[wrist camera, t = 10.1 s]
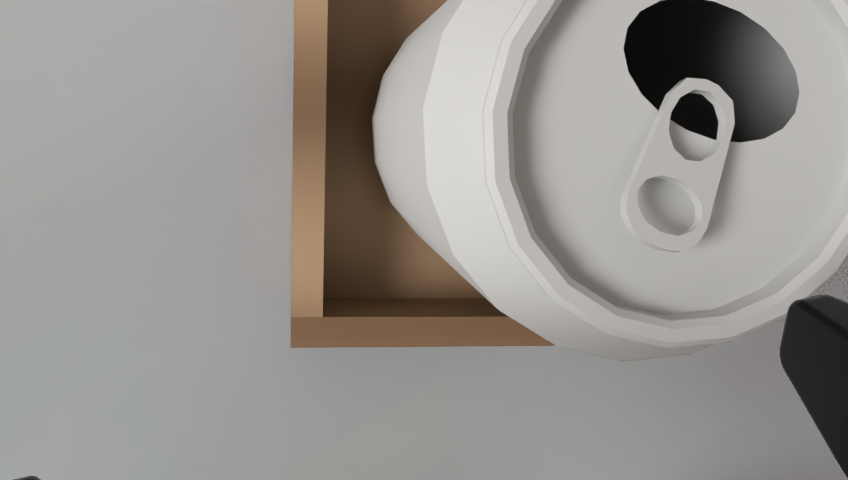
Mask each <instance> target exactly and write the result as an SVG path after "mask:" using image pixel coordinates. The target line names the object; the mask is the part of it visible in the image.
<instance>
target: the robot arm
mask: <svg viewBox="0 0 848 480" xmlns="http://www.w3.org/2000/svg"><path fill="white" fill-rule="evenodd" d="M780 359H781V363H782V366H783V368H784V370H785V372H786V374H787V376H788V377H789V379H790V381H791V382H792V384H793V386H794V388H795V389H796V391H797V393H798V395H799V396H800V398H801V400H802V402H803V403H804V405H805V407H806V408H807V410H808V412H809V414H810V415H811V417H812V419H813V421H814V422H815V424H816V426H817V428H818V429H819V431H820V433H821V434H822V436H823V438H824V440H825V441H826V443H827V445H828V447H829V448H830V450H831V452H832V454H833V455H834V457H835V459H836V460H837V462H838V463H839V465H840V467H841V468H842V470H843V471H844V473H845V474H846V476H847V477H848V303H847V302H844V301H842V300H839V299H837V298H834V297H831V296H828V295H816V296H812V297H807V298H803V299H798V300H796V301H794V302H792V304H791V305H790V306H789V308H788V311H787V316H786V321H785V326H784V331H783V336H782V341H781V346H780ZM14 480H40V479H39V478H38V477H36V476H27V477H23V478H18V479H14Z"/></svg>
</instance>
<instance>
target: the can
mask: <svg viewBox="0 0 848 480" xmlns="http://www.w3.org/2000/svg"><path fill="white" fill-rule="evenodd" d="M372 129H373V145H374V161H375V165H376V167H377V170H378V172H379V175H380V177H381V180H382V182H383V185H384V187H385V190H386V193H387V195H388V198H389V200H390V202H391V204H392V205H393V206H394V207H395V208H396V210H397V211H398V212H399V213H400V215H401V216H402V217H403V218H404V219H405V221H406V222H407V223H408V224H409V225H410V227H411V228H412V229H413V230H414V231H415V233H416V234H417V235H418V236H419V237H420V238H421V239H422V240H423V241H425V242H426V243H427V244H428V245H429V246H430V247H431V248H432V249H433V250H434V251H435V252H436V253H437V254H439V255H440V256H441V257H442V258H443V259H444V260H445V261H446V262H447V263H448V264H449V265H450V266H452V267H453V268H454V269H455V270H456V271H457V272H458V273H459V274H460V275H461V276H462V277H463V278H464V279H466V280H467V281H468V282H469V283H470V284H471V285H472V286H473V287H474V288H475V289H476V290H477V291H478V292H480V293H481V294H482V295H483V296H484V297H485V298H486V299H487V300H488V301H489V302H490V303H491V304H493V305H494V306H495V307H496V308H497V309H498V310H499V311H501V312H502V313H504V314H506V315H507V316H509V317H510V318H512V319H514V320H515V321H517V322H519V323H520V324H522V325H523V326H525V327H527V328H528V329H530V330H531V331H533V332H535V333H536V334H538V335H540V336H541V337H543V338H544V339H546V340H548V341H549V342H551V343H552V344H554V345H556V346H558V347H562V348H566V349H571V350H575V351H580V352H584V353H588V354H593V355H597V356H602V357H606V358H610V359H615V360H619V361H631V360H641V359H651V358H661V357H670V356H680V355H690V354H692V353H694V352H696V351H699V350H701V349H703V348H706V347H708V346H710V345H713V344H715V343H723V342H730V341H732V340H735V339H737V338H739V337H741V336H744V335H746V334H748V333H751V332H753V331H755V330H758V329H760V328H762V327H764V326H767V325H769V324H771V323H774V322H776V321H778V320H780V319H783V318H785V317H786V316H787V311H788V308H789V306H790V305H791V304H792V302H794V301H796V300H798V299H803V298H807V297H811V296H812V295H813V294H814V293H815V292H817V291H818V290H819V289H820V288H821V287H822V286H824V285H825V284H826V283H827V282H828V281H829V280H831V279H832V278H833V277H834V276H835V275H836V274H837V273H838V271H839V270H840V268H841V267H842V265H843V264H844V262H845V261H846V259H847V258H848V0H447V1H446V2H445V3H444V4H443V5H442V6H441V7H440V8H439V9H438V10H437V11H435V12H434V13H433V14H432V15H431V16H430V17H429V18H428V19H427V20H426V21H425V22H424V23H422V24H421V25H420V26H419V27H418V28H417V29H416V30H415V31H414V32H413V33H412V34H411V35H409V36H408V37H407V38H406V40H405V41H404V43H403V44H402V46H401V48H400V49H399V51H398V52H397V54H396V55H395V57H394V59H393V60H392V62H391V63H390V65H389V67H388V68H387V70H386V71H385V73H384V75H383V77H382V81H381V84H380V88H379V92H378V96H377V100H376V104H375V108H374V112H373V116H372Z"/></svg>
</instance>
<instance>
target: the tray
mask: <svg viewBox="0 0 848 480" xmlns="http://www.w3.org/2000/svg"><path fill="white" fill-rule="evenodd" d="M446 1H447V0H295V3H294V96H293V189H292V282H291V348H312V347H438V346H556V345H554V344H552V343H551V342H549V341H548V340H546V339H544V338H543V337H541V336H540V335H538V334H536V333H535V332H533V331H531V330H530V329H528V328H527V327H525V326H523V325H522V324H520V323H519V322H517V321H515V320H514V319H512V318H510V317H509V316H507V315H506V314H504V313H502V312H501V311H499V310H498V309H497V308H496V307H495V306H494V305H493V304H491V303H490V302H489V301H488V300H487V299H486V298H485V297H484V296H483V295H482V294H481V293H480V292H478V291H477V290H476V289H475V288H474V287H473V286H472V285H471V284H470V283H469V282H468V281H467V280H466V279H464V278H463V277H462V276H461V275H460V274H459V273H458V272H457V271H456V270H455V269H454V268H453V267H452V266H450V265H449V264H448V263H447V262H446V261H445V260H444V259H443V258H442V257H441V256H440V255H439V254H437V253H436V252H435V251H434V250H433V249H432V248H431V247H430V246H429V245H428V244H427V243H426V242H425V241H423V240H422V239H421V238H420V237H419V236H418V235H417V234H416V233H415V231H414V230H413V229H412V228H411V227H410V225H409V224H408V223H407V222H406V221H405V219H404V218H403V217H402V216H401V215H400V213H399V212H398V211H397V210H396V208H395V207H394V206H393V205H392V204H391V202H390V200H389V198H388V195H387V193H386V190H385V187H384V185H383V182H382V180H381V177H380V175H379V172H378V170H377V167H376V165H375V161H374V145H373V129H372V116H373V112H374V108H375V104H376V100H377V96H378V92H379V88H380V84H381V81H382V77H383V75H384V73H385V71H386V70H387V68H388V67H389V65H390V63H391V62H392V60H393V59H394V57H395V55H396V54H397V52H398V51H399V49H400V48H401V46H402V44H403V43H404V41H405V40H406V38H407V37H408V36H409V35H411V34H412V33H413V32H414V31H415V30H416V29H417V28H418V27H419V26H420V25H421V24H422V23H424V22H425V21H426V20H427V19H428V18H429V17H430V16H431V15H432V14H433V13H434V12H435V11H437V10H438V9H439V8H440V7H441V6H442V5H443V4H444V3H445V2H446Z"/></svg>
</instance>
